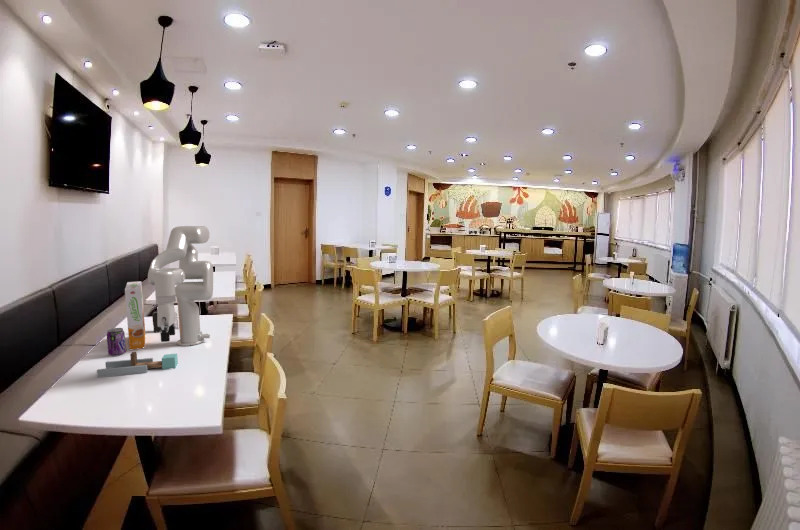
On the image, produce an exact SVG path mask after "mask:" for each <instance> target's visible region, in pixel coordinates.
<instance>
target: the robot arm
mask: <svg viewBox="0 0 800 530" xmlns="http://www.w3.org/2000/svg"><path fill="white" fill-rule="evenodd" d="M209 240H210V230H209V228H208V227H207V226H205V225H193V226H192V225H184V226H183V225H181V226H175V227H174V228H172V229H171V230H170V232H169V237H168V242H167V245H166V249H165V250H163V251H162V252H160V253H159V254H158V255H156V256H155V257H154V258H153V259H152V261H151V263H150V266H149V269H148V272H147V280H148V282H149V284H150V285H152V286H154V293H155V295H154V296H155V304H156V305H157V310H156V312H157V324H158V327H161V329H160V330H161V331H160V332H159V333H160V341H161V342H162V343H164V342H170V341H171V338H170V336H175V335H176V327H175V321H176V314H175V305H174V304H175V303H176V304H177V312H178V330H179V339H178V340H177V341H176V344H177V345H178V346H180V347H191V346H195V345H196V344H197V345H200V344H202V343H204V342H205V339H210V337H211V335H210V334H209V333H203V331H201V321H200V320H201V319H200V307H199V306H198V304H197V303H196V302H195V301H209V300H211V299H212V297H213V295H214V268H213V267H214V266H213V264H212V263H211V261H209V260H198V258H199V256H198V255H199V254H198V253H199V252H198V250H197V248H196V247H195V246H194V244H195V245H198V244H205V243H208V241H209ZM177 261H178V267H174V268H173V267H167V268H166V267H165V266H167V265H169V264H172V263H175V262H177ZM164 267H165V268H164ZM185 280H202V281H185ZM190 345H191V346H190Z"/></svg>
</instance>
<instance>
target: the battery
mask: <svg viewBox="0 0 800 530" xmlns="http://www.w3.org/2000/svg"><path fill="white" fill-rule="evenodd" d="M151 316H152V317H151V318H152V326H153V332H154V333H160V332H159V331H161V330H160V329H161V327H158V324H157V311H154V312H152V315H151Z"/></svg>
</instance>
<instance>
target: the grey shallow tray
mask: <svg viewBox="0 0 800 530" xmlns="http://www.w3.org/2000/svg"><path fill="white" fill-rule="evenodd" d="M144 362H154V357H148V358H137V363H144ZM138 373H139V374H147V373H148V369H147V365H142V366H131V359H122V360H111V361H109V360H108V361H105V368H98V369H97V370H96V376H97V378H103V377H105V376H106V377H113V376H115V377H116V376H124V375H125V376H126V375H127V374H128V375H137V374H138ZM106 377H105V378H106Z"/></svg>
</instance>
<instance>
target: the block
mask: <svg viewBox="0 0 800 530" xmlns="http://www.w3.org/2000/svg"><path fill="white" fill-rule="evenodd" d="M161 361H162V367H161V370H170V369H169V368H173V369H176V368H177V367H178V365H179V363H178V353H168V354H164V355H163V356H162V357H161ZM177 364H178V365H177ZM176 366H177V367H176Z"/></svg>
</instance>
